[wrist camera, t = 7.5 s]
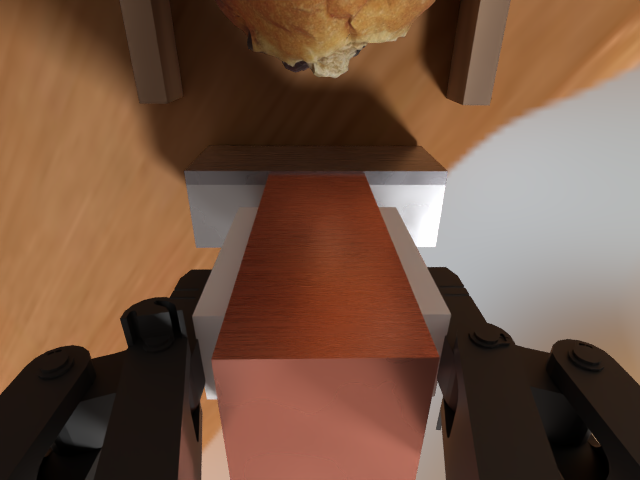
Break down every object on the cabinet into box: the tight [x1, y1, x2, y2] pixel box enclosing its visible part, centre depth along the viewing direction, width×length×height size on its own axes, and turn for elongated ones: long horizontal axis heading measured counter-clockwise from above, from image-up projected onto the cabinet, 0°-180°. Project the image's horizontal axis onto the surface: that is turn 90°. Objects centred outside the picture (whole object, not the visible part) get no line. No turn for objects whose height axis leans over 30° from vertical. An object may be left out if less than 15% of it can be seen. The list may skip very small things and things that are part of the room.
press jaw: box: [184, 145, 448, 480], centre depth 14 cm, size 11×4×15 cm, turn 90°
